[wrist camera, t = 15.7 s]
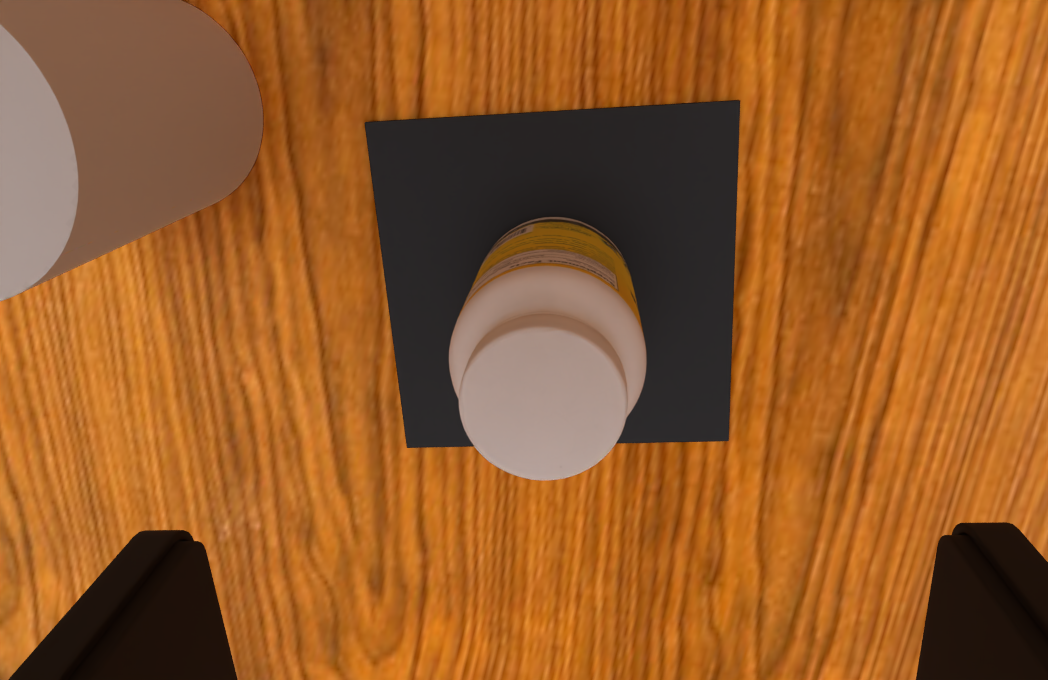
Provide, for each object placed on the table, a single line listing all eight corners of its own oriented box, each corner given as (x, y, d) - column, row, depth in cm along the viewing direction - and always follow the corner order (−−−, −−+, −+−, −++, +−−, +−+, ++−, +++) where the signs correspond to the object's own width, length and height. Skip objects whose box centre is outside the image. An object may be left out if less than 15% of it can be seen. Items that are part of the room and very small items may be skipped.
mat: (407, 445, 35) (406, 447, 35) (365, 122, 30) (364, 122, 30) (728, 438, 34) (728, 441, 34) (739, 100, 29) (740, 100, 29)
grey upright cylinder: (13, 70, 30) (-317, 91, 19) (169, -54, 28) (-99, -111, 17) (151, 247, 33) (-74, 358, 21) (305, 143, 31) (145, 206, 19)
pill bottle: (601, 378, 33) (609, 533, 23) (461, 332, 33) (404, 468, 23) (656, 241, 31) (691, 344, 21) (505, 190, 31) (465, 270, 20)
